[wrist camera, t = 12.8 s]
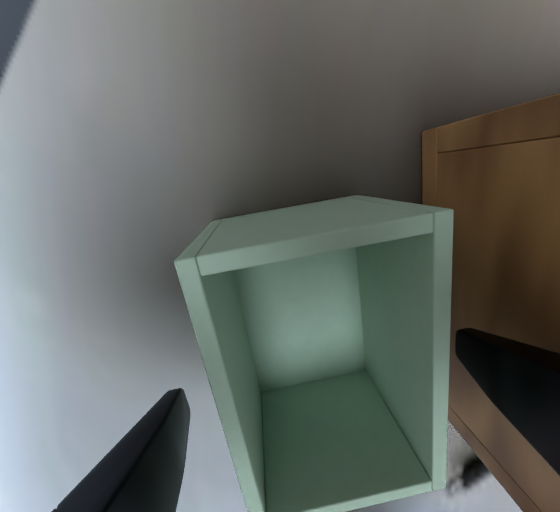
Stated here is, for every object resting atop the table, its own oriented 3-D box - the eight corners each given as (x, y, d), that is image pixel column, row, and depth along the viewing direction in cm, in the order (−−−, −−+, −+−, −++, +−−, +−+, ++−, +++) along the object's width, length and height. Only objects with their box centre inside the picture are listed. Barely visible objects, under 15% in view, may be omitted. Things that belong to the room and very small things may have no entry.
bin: (370, 368, 15) (446, 488, 9) (253, 392, 14) (253, 535, 9) (357, 194, 12) (454, 208, 6) (211, 220, 12) (172, 260, 6)
